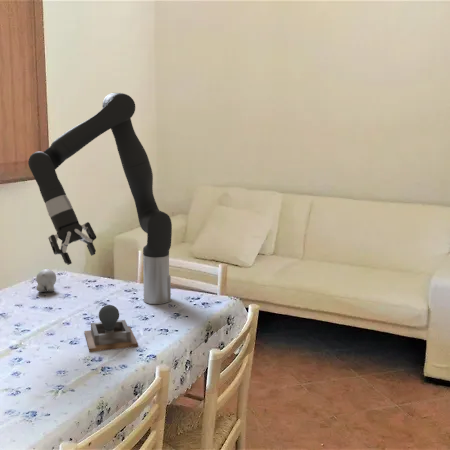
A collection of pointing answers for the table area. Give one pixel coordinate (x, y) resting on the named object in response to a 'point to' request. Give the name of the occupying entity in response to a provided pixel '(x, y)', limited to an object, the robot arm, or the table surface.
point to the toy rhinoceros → (46, 280)
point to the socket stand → (110, 337)
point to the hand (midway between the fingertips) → (81, 259)
